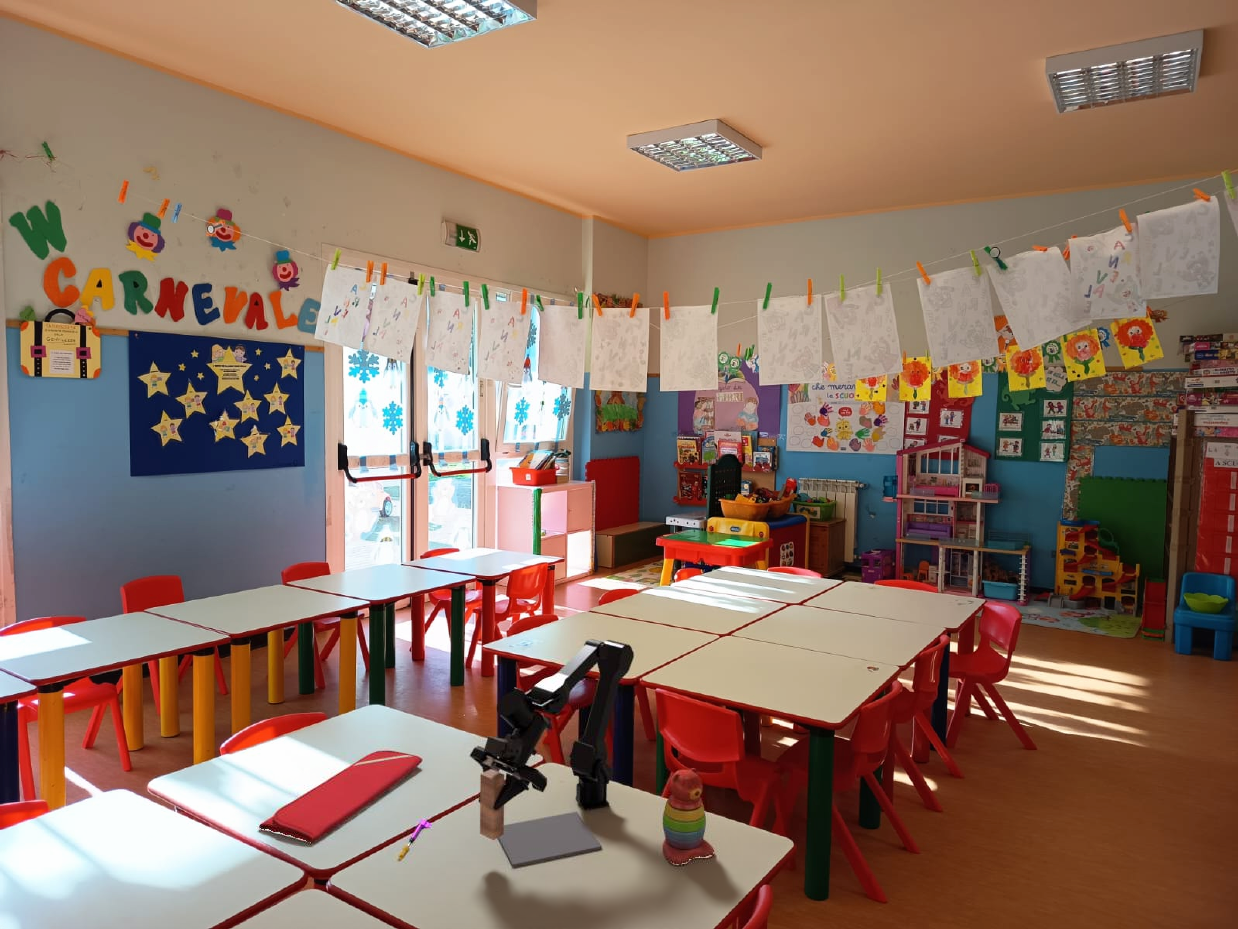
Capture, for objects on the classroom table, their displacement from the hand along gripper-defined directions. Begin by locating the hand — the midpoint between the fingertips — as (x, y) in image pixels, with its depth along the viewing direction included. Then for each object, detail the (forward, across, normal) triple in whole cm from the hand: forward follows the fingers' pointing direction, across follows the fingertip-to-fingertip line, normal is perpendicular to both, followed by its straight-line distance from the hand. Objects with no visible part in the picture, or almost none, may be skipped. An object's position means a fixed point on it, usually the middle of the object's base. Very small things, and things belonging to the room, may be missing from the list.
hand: (487, 806), depth 172 cm
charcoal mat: (-2, +3, +20) cm, 20 cm away
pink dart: (+12, -18, +7) cm, 23 cm away
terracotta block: (+4, 0, +6) cm, 7 cm away
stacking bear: (-13, +29, +31) cm, 44 cm away
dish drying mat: (+10, -47, +8) cm, 49 cm away
